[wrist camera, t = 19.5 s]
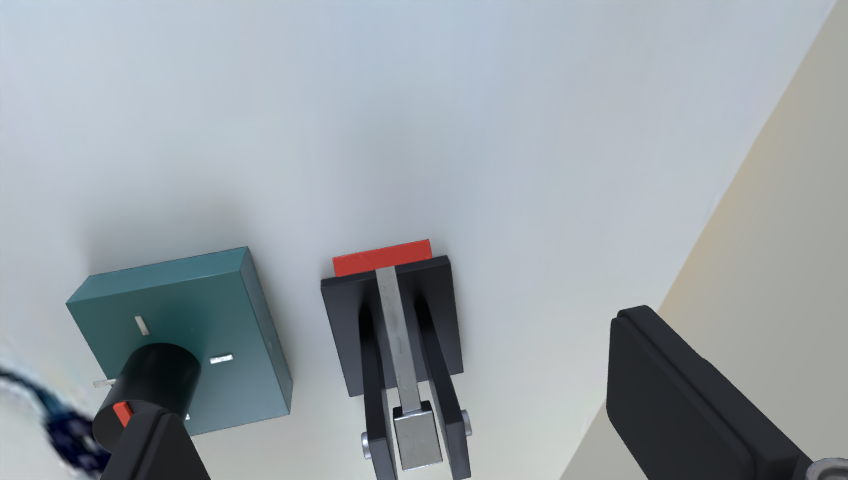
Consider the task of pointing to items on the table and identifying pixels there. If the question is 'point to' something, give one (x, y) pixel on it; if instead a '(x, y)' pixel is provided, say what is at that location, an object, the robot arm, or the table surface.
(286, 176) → the table surface
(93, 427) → the knob
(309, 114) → the table surface
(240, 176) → the table surface
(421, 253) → the toaster lever
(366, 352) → the black upright frame
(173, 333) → the dial panel
